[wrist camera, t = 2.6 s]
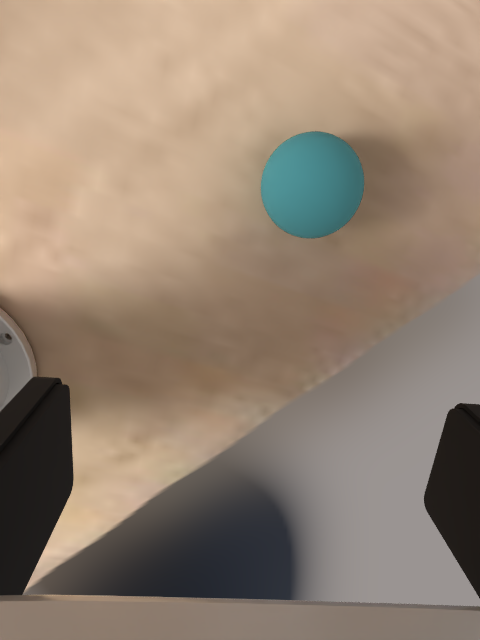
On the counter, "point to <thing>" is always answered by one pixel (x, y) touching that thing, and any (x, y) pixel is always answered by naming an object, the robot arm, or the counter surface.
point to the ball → (312, 184)
